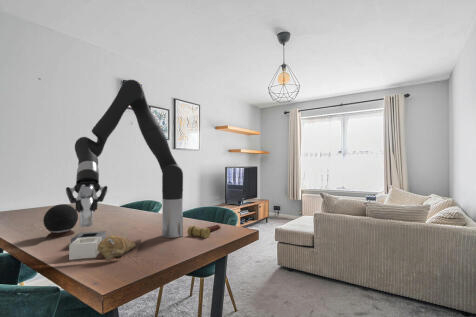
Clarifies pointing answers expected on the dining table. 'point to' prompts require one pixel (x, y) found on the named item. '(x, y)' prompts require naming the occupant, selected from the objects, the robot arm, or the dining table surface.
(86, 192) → the grey tall cylinder
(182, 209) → the robot arm
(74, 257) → the block
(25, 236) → the dining table surface
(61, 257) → the dining table surface
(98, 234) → the socket block
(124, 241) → the seashell
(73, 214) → the black rounded disc
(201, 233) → the gavel
